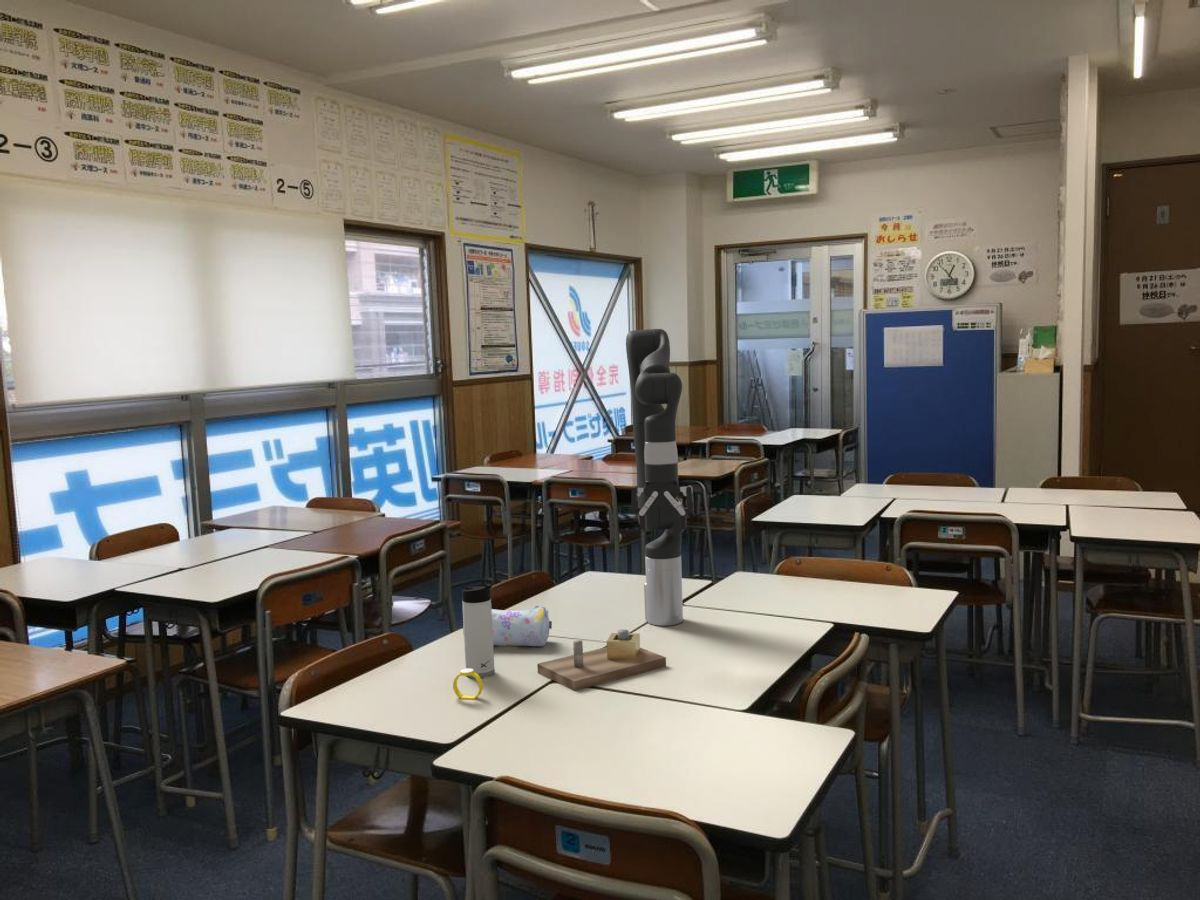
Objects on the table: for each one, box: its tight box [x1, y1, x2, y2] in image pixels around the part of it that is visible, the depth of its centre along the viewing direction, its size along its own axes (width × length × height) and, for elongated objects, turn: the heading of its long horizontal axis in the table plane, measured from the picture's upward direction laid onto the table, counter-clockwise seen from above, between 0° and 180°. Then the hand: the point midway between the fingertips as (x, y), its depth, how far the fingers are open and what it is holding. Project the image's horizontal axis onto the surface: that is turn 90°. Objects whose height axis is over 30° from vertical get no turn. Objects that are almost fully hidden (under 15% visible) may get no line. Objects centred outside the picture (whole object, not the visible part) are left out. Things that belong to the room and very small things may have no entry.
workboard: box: [537, 639, 667, 691], centre depth 210 cm, size 15×24×8 cm, turn 124°
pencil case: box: [462, 605, 553, 647], centre depth 231 cm, size 21×9×10 cm, turn 82°
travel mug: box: [461, 583, 496, 679], centre depth 209 cm, size 6×7×20 cm
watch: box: [452, 668, 484, 700], centre depth 195 cm, size 6×3×6 cm, turn 79°
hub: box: [617, 628, 629, 640], centre depth 213 cm, size 3×3×6 cm
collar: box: [606, 632, 641, 660], centre depth 213 cm, size 6×6×4 cm
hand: (663, 531), depth 219 cm, fingers open, 8 cm apart
